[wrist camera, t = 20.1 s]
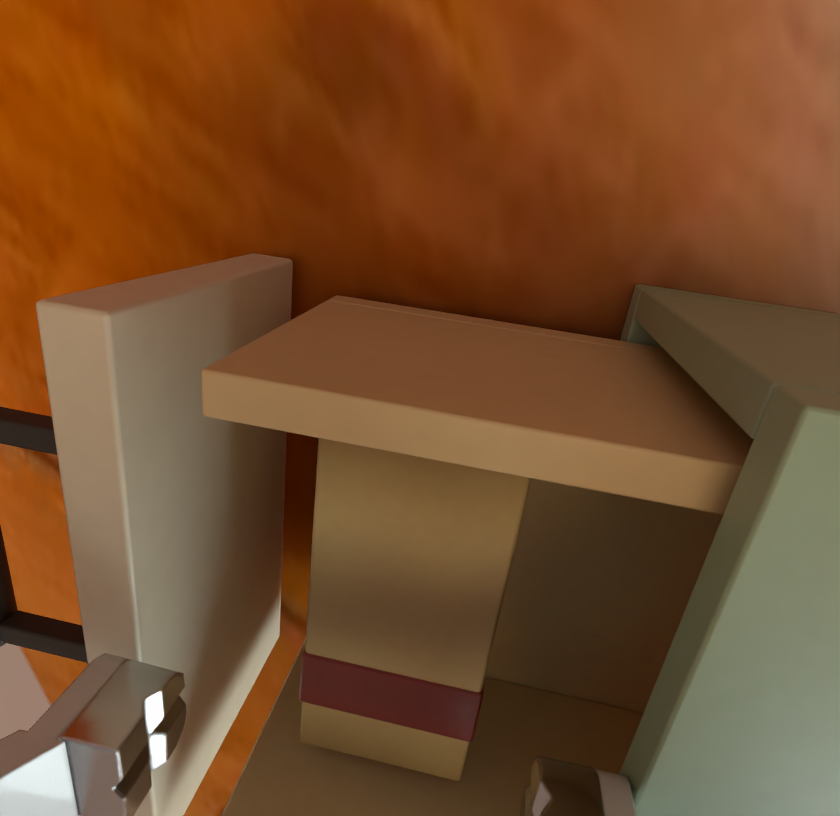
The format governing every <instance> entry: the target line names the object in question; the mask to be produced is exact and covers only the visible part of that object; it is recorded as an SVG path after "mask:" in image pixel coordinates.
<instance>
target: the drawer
mask: <svg viewBox="0 0 840 816" xmlns="http://www.w3.org/2000/svg"><path fill="white" fill-rule="evenodd" d="M292 273H293V261H292V260H291V259H287V258H281V257H275V256H268V255H262V254H255V253H253V254H248V255H243V256H239V257H234V258H230V259H225V260H221V261H216V262H211V263H207V264H202V265H198V266H193V267H188V268H184V269H179V270H175V271H170V272H166V273H161V274H156V275H152V276H147V277H143V278H138V279H134V280H129V281H124V282H120V283H115V284H111V285H106V286H101V287H97V288H92V289H88V290H83V291H79V292H74V293H69V294H65V295H60V296H56V297H51V298H46V299H42V300H39V301H37V303H36V311H37V318H38V325H39V332H40V338H41V345H42V352H43V359H44V366H45V373H46V380H47V387H48V393H49V400H50V407H51V414H52V417H50V416H45V415H40V414H35V413H29V412H24V411H19V410H14V409H9V408H4V407H0V443H2V444H6V445H11V446H16V447H21V448H26V449H31V450H36V451H41V452H46V453H51V454H56V455H58V462H59V469H60V476H61V483H62V490H63V496H64V503H65V510H66V517H67V524H68V531H69V538H70V545H71V551H72V558H73V565H74V572H75V579H76V586H77V593H78V600H79V606H80V613H81V620H82V626H81V625H77V624H73V623H69V622H65V621H60V620H56V619H52V618H48V617H43V616H39V615H35V614H31V613H27V612H22V611H18V610H17V605H16V601H15V596H14V591H13V586H12V581H11V576H10V571H9V566H8V561H7V556H6V551H5V546H4V541H3V536H2V531H1V526H0V646H2V645H4V644H5V643H9V644H13V645H17V646H21V647H25V648H29V649H34V650H38V651H42V652H46V653H50V654H54V655H58V656H62V657H66V658H70V659H74V660H79V661H83V662H87V663H88V665H89V664H90V663H91V662H92V661H93V660H94V659H95V658H97V657H99V656H100V655H102V654H104V653H107V654H111V655H115V656H120V657H124V658H128V659H132V660H135V661H139V662H143V663H147V664H150V665H154V666H158V667H162V668H166V669H169V670H173V671H177V672H181V673H184V682H185V687H184V689H183V690H182V692H181V693H180V695H179V696H180V697H181V698H182V700H183V701H184V702H185V703H186V719H185V725H184V728H183V731H182V734H181V736H180V739H179V741H178V744H177V746H176V747H175V749H174V751H173V752H172V754H171V756H170V757H169V759H168V761H167V762H165V763H163V764H162V765H160V766H159V767H157V768H156V769H154V770H153V771H151V775H152V787H151V788H150V790H149V792H148V793H147V795H146V796H145V798H144V800H143V801H142V803H141V804H140V806H139V808H138V809H137V811H136V813H135V814H134V816H183V815H184V813H185V811H186V810H187V808H188V806H189V804H190V802H191V800H192V798H193V797H194V795H195V793H196V791H197V789H198V787H199V785H200V783H201V782H202V780H203V778H204V776H205V774H206V772H207V770H208V768H209V767H210V765H211V763H212V761H213V759H214V757H215V755H216V753H217V752H218V750H219V748H220V746H221V744H222V742H223V740H224V739H225V737H226V735H227V733H228V731H229V729H230V727H231V725H232V724H233V722H234V720H235V718H236V716H237V714H238V712H239V710H240V709H241V707H242V705H243V703H244V701H245V699H246V697H247V695H248V694H249V692H250V690H251V688H252V686H253V684H254V682H255V681H256V679H257V677H258V675H259V673H260V671H261V669H262V667H263V666H264V664H265V662H266V660H267V658H268V656H269V654H270V652H271V651H272V649H273V647H274V645H275V643H276V641H277V639H278V638H279V635H280V607H281V579H282V551H283V523H284V496H285V468H286V440H287V432H290V433H296V434H301V435H306V436H311V437H317V438H322V439H327V440H333V441H338V442H343V443H348V444H354V445H359V446H364V447H369V448H375V449H380V450H385V451H391V452H396V453H401V454H406V455H412V456H417V457H422V458H427V459H433V460H438V461H443V462H449V463H454V464H459V465H464V466H470V467H475V468H480V469H485V470H491V471H496V472H501V473H507V474H512V475H517V476H522V477H528V478H531V482H530V486H529V491H528V495H527V499H526V503H525V508H524V512H523V516H522V521H521V525H520V529H519V533H518V538H517V542H516V546H515V551H514V555H513V559H512V563H511V568H510V572H509V576H508V581H507V585H506V589H505V594H504V598H503V602H502V606H501V611H500V615H499V619H498V624H497V628H496V632H495V636H494V641H493V645H492V649H491V654H490V658H489V662H488V666H487V671H486V675H485V679H484V695H483V699H482V704H481V708H480V712H479V716H478V721H477V725H476V729H475V733H474V738H473V740H472V742H470V744H469V748H468V752H467V756H466V761H465V765H464V769H463V774H462V778H461V779H460V781H455V780H451V779H447V778H443V777H439V776H435V775H431V774H427V773H423V772H419V771H415V770H411V769H407V768H403V767H399V766H395V765H391V764H387V763H383V762H379V761H375V760H371V759H367V758H363V757H359V756H355V755H351V754H347V753H343V752H339V751H335V750H331V749H327V748H323V747H319V746H315V745H311V744H307V743H303V742H301V741H300V723H301V708H302V702H301V701H300V700H299V694H300V677H301V661H302V652H303V650H304V648H305V645H306V638H305V640H304V642H303V644H302V646H301V648H300V650H299V652H298V654H297V657H296V659H295V661H294V663H293V665H292V667H291V669H290V671H289V673H288V676H287V678H286V680H285V682H284V684H283V686H282V688H281V690H280V692H279V695H278V697H277V699H276V701H275V703H274V705H273V707H272V709H271V711H270V714H269V716H268V718H267V720H266V722H265V724H264V726H263V728H262V730H261V733H260V735H259V737H258V739H257V741H256V743H255V745H254V747H253V749H252V752H251V754H250V756H249V758H248V760H247V762H246V764H245V766H244V768H243V771H242V773H241V775H240V777H239V779H238V781H237V783H236V785H235V787H234V790H233V792H232V794H231V796H230V798H229V800H228V802H227V804H226V807H225V809H224V811H223V813H222V815H221V816H520V809H521V802H522V797H523V793H524V789H525V786H527V785H529V784H530V783H531V774H530V769H531V765H532V762H533V759H534V758H535V756H536V755H537V756H542V757H547V758H551V759H556V760H560V761H565V762H569V763H574V764H579V765H583V766H588V767H592V768H594V769H596V770H601V771H605V772H610V773H615V774H619V773H620V771H621V768H622V766H623V763H624V761H625V758H626V756H627V753H628V751H629V748H630V746H631V743H632V741H633V738H634V736H635V733H636V731H637V728H638V726H639V723H640V721H641V719H642V716H643V714H644V711H645V709H646V706H647V704H648V701H649V699H650V696H651V694H652V691H653V689H654V686H655V684H656V681H657V679H658V676H659V674H660V671H661V669H662V666H663V664H664V661H665V659H666V656H667V654H668V651H669V649H670V646H671V644H672V641H673V639H674V637H675V634H676V632H677V629H678V627H679V624H680V622H681V619H682V617H683V614H684V612H685V609H686V607H687V604H688V602H689V599H690V597H691V594H692V592H693V589H694V587H695V584H696V582H697V579H698V577H699V574H700V572H701V569H702V567H703V564H704V562H705V559H706V557H707V555H708V552H709V550H710V547H711V545H712V542H713V540H714V537H715V535H716V532H717V530H718V527H719V525H720V522H721V520H722V517H723V515H724V512H725V510H726V507H727V505H728V502H729V500H730V497H731V495H732V492H733V490H734V487H735V485H736V482H737V480H738V477H739V475H740V473H741V470H742V468H743V465H744V463H745V460H746V458H747V455H748V453H749V450H750V448H751V445H752V443H753V440H754V439H752V438H751V437H750V436H749V435H748V434H747V433H746V432H745V431H744V430H743V429H742V428H741V427H740V426H739V425H738V424H737V423H736V422H735V421H734V420H733V419H732V418H731V417H730V416H729V415H728V414H727V413H726V412H725V411H724V410H723V409H722V408H721V407H720V406H719V405H718V404H717V403H716V402H715V401H714V400H713V399H712V398H711V397H710V396H709V395H708V393H707V392H706V391H705V390H704V389H703V388H702V387H701V386H700V385H699V384H698V383H697V382H696V381H695V380H694V379H693V378H692V377H691V376H690V375H689V374H688V373H687V372H686V371H685V370H684V369H683V368H682V367H681V366H680V365H679V364H678V363H677V362H676V361H675V360H674V359H673V358H672V357H671V356H670V355H669V354H668V353H667V352H666V351H665V350H664V349H663V348H662V347H656V346H650V345H644V344H638V343H631V342H625V341H619V340H613V339H607V338H600V337H594V336H588V335H582V334H576V333H569V332H563V331H557V330H551V329H544V328H538V327H532V326H526V325H520V324H513V323H507V322H501V321H495V320H489V319H482V318H476V317H470V316H464V315H458V314H451V313H445V312H439V311H433V310H427V309H420V308H414V307H408V306H402V305H396V304H389V303H383V302H377V301H371V300H365V299H358V298H352V297H346V296H340V295H336V296H334V297H332V298H330V299H329V300H327V301H325V302H323V303H321V304H319V305H318V306H316V307H314V308H312V309H310V310H308V311H307V312H305V313H303V314H301V315H299V316H298V317H296V318H294V319H292V320H291V301H292ZM318 440H319V439H318Z"/></svg>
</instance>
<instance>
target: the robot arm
mask: <svg viewBox="0 0 840 816" xmlns="http://www.w3.org/2000/svg"><path fill="white" fill-rule="evenodd" d="M184 687H185V682H184V673H181V672H177V671H173V670H169V669H166V668H162V667H158V666H154V665H150V664H147V663H143V662H139V661H135V660H132V659H128V658H124V657H120V656H115V655H111V654H107V653H104V654H102V655H100V656H99V657H97V658H95V659H94V660H93V661H92V662H91V663H90V664H89V665H88V666H87V667H86V668H85V670H84V671H83V672H82V673H81V674H80V675H79V676H78V677H77V678H76V679H75V680H74V682H73V683H72V684H71V685H70V686H69V687H68V688H67V689H66V690H65V691H64V692H63V694H62V695H61V696H60V697H59V698H58V699H57V700H56V701H55V702H54V703H53V704H52V705H51V707H50V708H49V709H48V710H47V711H46V712H45V713H44V714H43V715H42V717H40V719H39V720H38V721H37V722H36V723H35V724H34V725H33V726H32V727H31V728H30V729H29V731H24V730H18V731H16V732H14V733H13V734H10V735H8V736H6V737H5V738H3V739H1V740H0V816H78V815H81V816H134V814H135V813H136V811H137V809H138V808H139V806H140V804H141V803H142V801H143V800H144V798H145V796H146V795H147V793H148V792H149V790H150V788H151V787H152V775H151V771H153V770H154V769H156V768H157V767H159V766H160V765H162V764H163V763H165V762H167V761H168V759H169V757H170V756H171V754H172V752H173V751H174V749H175V747H176V746H177V744H178V741H179V739H180V736H181V734H182V731H183V728H184V725H185V719H186V703H185V702H184V701H183V700H182V698H181V697H180V696H179V695H180V693H181V692H182V690H183V689H184ZM530 774H531V783H530V784H529V785H527V786H525V789H524V793H523V797H522V802H521V809H520V816H637V814H636V809H635V805H634V800H633V795H632V790H631V785H630V783H629V781H628V779H627V777H626V776H623V775H619V774H615V773H610V772H605V771H601V770H596V769H594V768H592V767H588V766H583V765H579V764H574V763H569V762H565V761H560V760H556V759H551V758H547V757H542V756H537V755H536V756H535V758H534V759H533V762H532V765H531V769H530Z"/></svg>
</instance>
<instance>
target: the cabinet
mask: <svg viewBox="0 0 840 816" xmlns="http://www.w3.org/2000/svg"><path fill="white" fill-rule="evenodd" d="M620 341H625V342H631V343H638V344H644V345H650V346H656V347H662V348H663V349H664V350H665V351H666V352H667V353H668V354H669V355H670V356H671V357H672V358H673V359H674V360H675V361H676V362H677V363H678V364H679V365H680V366H681V367H682V368H683V369H684V370H685V371H686V372H687V373H688V374H689V375H690V376H691V377H692V378H693V379H694V380H695V381H696V382H697V383H698V384H699V385H700V386H701V387H702V388H703V389H704V390H705V391H706V392H707V393H708V395H709V396H710V397H711V398H712V399H713V400H714V401H715V402H716V403H717V404H718V405H719V406H720V407H721V408H722V409H723V410H724V411H725V412H726V413H727V414H728V415H729V416H730V417H731V418H732V419H733V420H734V421H735V422H736V423H737V424H738V425H739V426H740V427H741V428H742V429H743V430H744V431H745V432H746V433H747V434H748V435H749V436H750V437H751V438H752V439H754V440H753V443H752V445H751V448H750V450H749V453H748V455H747V458H746V460H745V463H744V465H743V468H742V470H741V473H740V475H739V477H738V480H737V482H736V485H735V487H734V490H733V492H732V495H731V497H730V500H729V502H728V505H727V507H726V510H725V512H724V515H723V517H722V520H721V522H720V525H719V527H718V530H717V532H716V535H715V537H714V540H713V542H712V545H711V547H710V550H709V552H708V555H707V557H706V559H705V562H704V564H703V567H702V569H701V572H700V574H699V577H698V579H697V582H696V584H695V587H694V589H693V592H692V594H691V597H690V599H689V602H688V604H687V607H686V609H685V612H684V614H683V617H682V619H681V622H680V624H679V627H678V629H677V632H676V634H675V637H674V639H673V641H672V644H671V646H670V649H669V651H668V654H667V656H666V659H665V661H664V664H663V666H662V669H661V671H660V674H659V676H658V679H657V681H656V684H655V686H654V689H653V691H652V694H651V696H650V699H649V701H648V704H647V706H646V709H645V711H644V714H643V716H642V719H641V721H640V723H639V726H638V728H637V731H636V733H635V736H634V738H633V741H632V743H631V746H630V748H629V751H628V753H627V756H626V758H625V761H624V763H623V766H622V768H621V771H620V773H619V775H623V776H626V777H627V779H628V781H629V783H630V785H631V790H632V795H633V800H634V805H635V809H636V814H637V816H840V314H836V313H829V312H823V311H816V310H809V309H803V308H796V307H789V306H783V305H776V304H770V303H763V302H756V301H750V300H743V299H736V298H730V297H723V296H716V295H710V294H703V293H696V292H690V291H683V290H676V289H670V288H663V287H656V286H650V285H643V284H636V286H635V288H634V291H633V295H632V299H631V302H630V306H629V309H628V313H627V317H626V320H625V324H624V328H623V331H622V335H621V338H620Z"/></svg>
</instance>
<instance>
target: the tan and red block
mask: <svg viewBox="0 0 840 816" xmlns="http://www.w3.org/2000/svg"><path fill="white" fill-rule="evenodd" d="M530 482H531V478H528V477H522V476H517V475H512V474H507V473H501V472H496V471H491V470H485V469H480V468H475V467H470V466H464V465H459V464H454V463H449V462H443V461H438V460H433V459H427V458H422V457H417V456H412V455H406V454H401V453H396V452H391V451H385V450H380V449H375V448H369V447H364V446H359V445H354V444H348V443H343V442H338V441H333V440H327V439H322V438H319V440H318V455H317V471H316V487H315V503H314V519H313V534H312V550H311V566H310V582H309V597H308V613H307V629H306V645H305V648H304V650H303V652H302V661H301V677H300V694H299V700H300V701H301V702H302V708H301V723H300V741H301V742H303V743H307V744H311V745H315V746H319V747H323V748H327V749H331V750H335V751H339V752H343V753H347V754H351V755H355V756H359V757H363V758H367V759H371V760H375V761H379V762H383V763H387V764H391V765H395V766H399V767H403V768H407V769H411V770H415V771H419V772H423V773H427V774H431V775H435V776H439V777H443V778H447V779H451V780H455V781H460V779H461V778H462V774H463V769H464V765H465V761H466V756H467V752H468V748H469V744H470V742H472V740H473V738H474V733H475V729H476V725H477V721H478V716H479V712H480V708H481V704H482V699H483V695H484V679H485V675H486V671H487V666H488V662H489V658H490V654H491V649H492V645H493V641H494V636H495V632H496V628H497V624H498V619H499V615H500V611H501V606H502V602H503V598H504V594H505V589H506V585H507V581H508V576H509V572H510V568H511V563H512V559H513V555H514V551H515V546H516V542H517V538H518V533H519V529H520V525H521V521H522V516H523V512H524V508H525V503H526V499H527V495H528V491H529V486H530Z"/></svg>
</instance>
